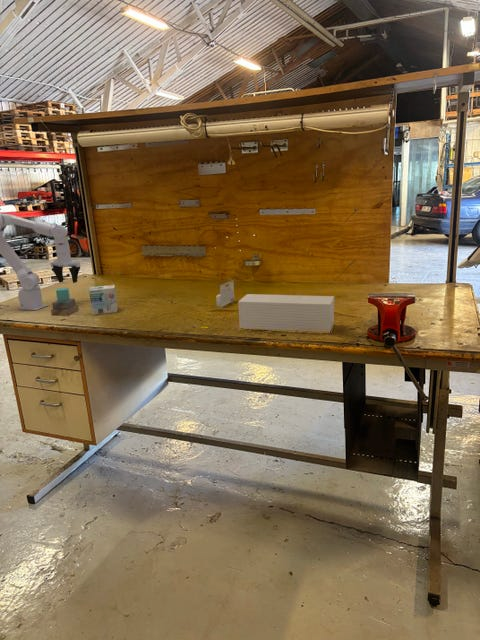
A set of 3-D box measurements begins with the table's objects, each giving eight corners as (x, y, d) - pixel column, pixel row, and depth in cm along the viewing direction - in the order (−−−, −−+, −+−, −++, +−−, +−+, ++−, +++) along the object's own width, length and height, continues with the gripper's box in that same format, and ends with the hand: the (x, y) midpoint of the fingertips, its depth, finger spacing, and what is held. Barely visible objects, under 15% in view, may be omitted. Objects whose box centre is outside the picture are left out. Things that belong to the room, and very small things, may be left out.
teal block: (57, 302, 193) (55, 290, 191) (58, 299, 197) (57, 288, 195) (69, 301, 194) (67, 289, 192) (70, 298, 198) (68, 287, 196)
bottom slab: (51, 316, 194) (50, 309, 193) (63, 311, 201) (62, 304, 200) (67, 317, 192) (66, 310, 191) (79, 311, 199) (78, 305, 198)
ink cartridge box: (216, 307, 192) (215, 284, 189) (230, 300, 201) (229, 279, 199) (221, 307, 191) (220, 285, 188) (235, 301, 200) (233, 279, 197)
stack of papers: (239, 330, 161) (238, 301, 158) (248, 321, 171) (246, 294, 168) (330, 335, 152) (330, 304, 149) (333, 325, 161) (334, 296, 158)
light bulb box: (92, 315, 190) (88, 290, 187) (92, 311, 197) (89, 287, 193) (118, 312, 193) (114, 287, 190) (117, 308, 199) (114, 284, 196)
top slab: (53, 310, 192) (51, 303, 191) (60, 305, 199) (59, 299, 198) (69, 309, 192) (68, 302, 191) (75, 305, 198) (74, 298, 198)
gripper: (82, 251, 204) (86, 280, 208) (55, 251, 209) (60, 280, 213) (72, 253, 198) (77, 284, 202) (45, 253, 202) (50, 283, 206)
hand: (68, 282), depth 207 cm, fingers open, 7 cm apart
